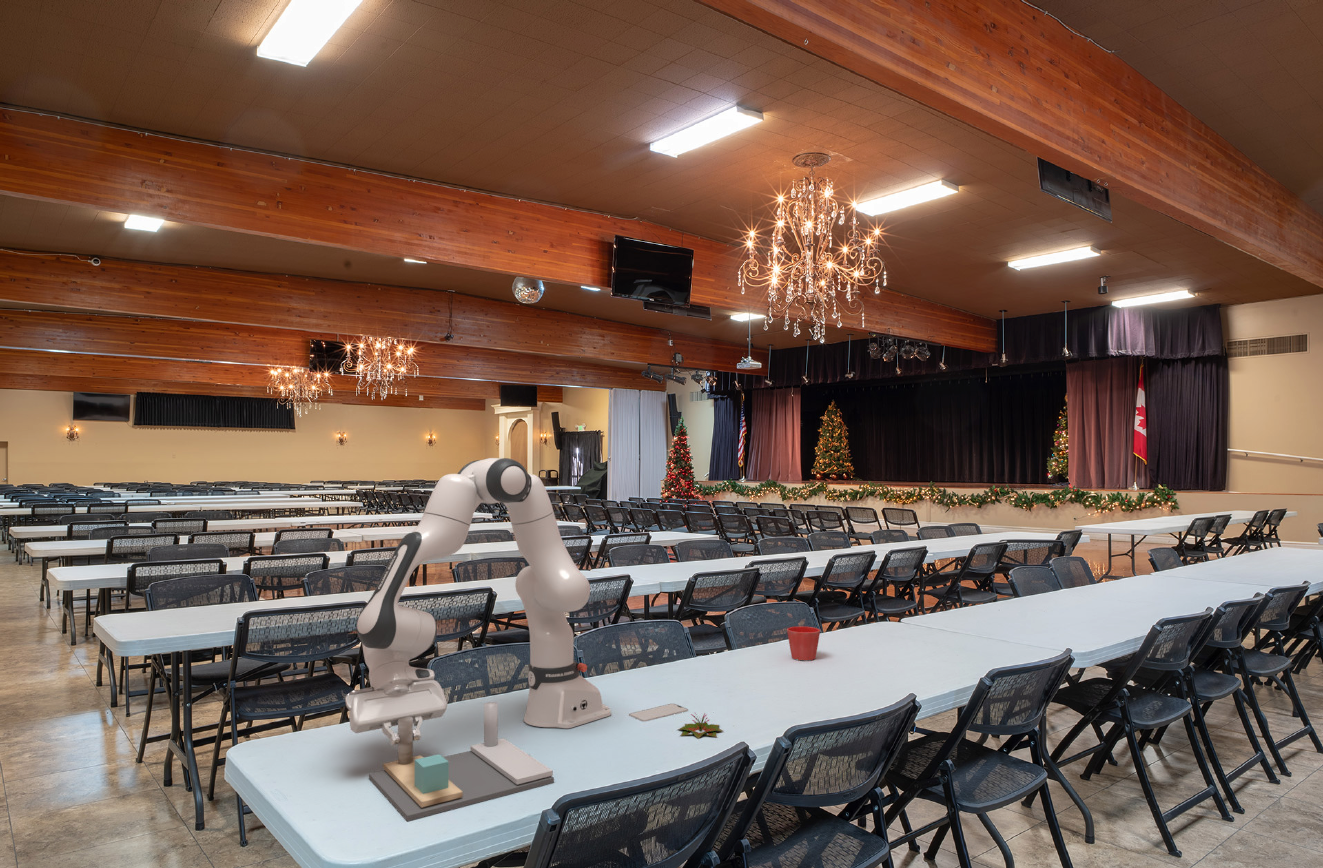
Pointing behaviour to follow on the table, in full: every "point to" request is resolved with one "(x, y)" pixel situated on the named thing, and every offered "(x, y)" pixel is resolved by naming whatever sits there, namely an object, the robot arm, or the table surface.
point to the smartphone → (658, 712)
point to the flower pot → (803, 642)
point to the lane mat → (465, 774)
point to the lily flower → (700, 728)
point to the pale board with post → (507, 752)
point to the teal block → (431, 773)
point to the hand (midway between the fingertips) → (406, 740)
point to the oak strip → (405, 770)
